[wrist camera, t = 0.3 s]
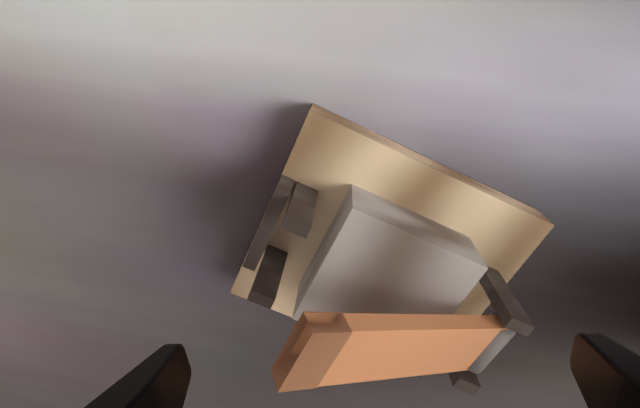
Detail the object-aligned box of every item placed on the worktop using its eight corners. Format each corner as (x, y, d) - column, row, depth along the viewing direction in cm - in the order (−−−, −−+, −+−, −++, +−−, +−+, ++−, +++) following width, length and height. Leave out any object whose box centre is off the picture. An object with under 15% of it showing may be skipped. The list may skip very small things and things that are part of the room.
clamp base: (536, 209, 21) (609, 275, 15) (426, 350, 26) (449, 442, 20) (312, 103, 20) (298, 131, 14) (238, 273, 25) (204, 348, 19)
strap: (501, 310, 19) (522, 333, 18) (467, 350, 20) (485, 374, 19) (300, 305, 13) (315, 339, 12) (268, 363, 14) (279, 399, 13)
